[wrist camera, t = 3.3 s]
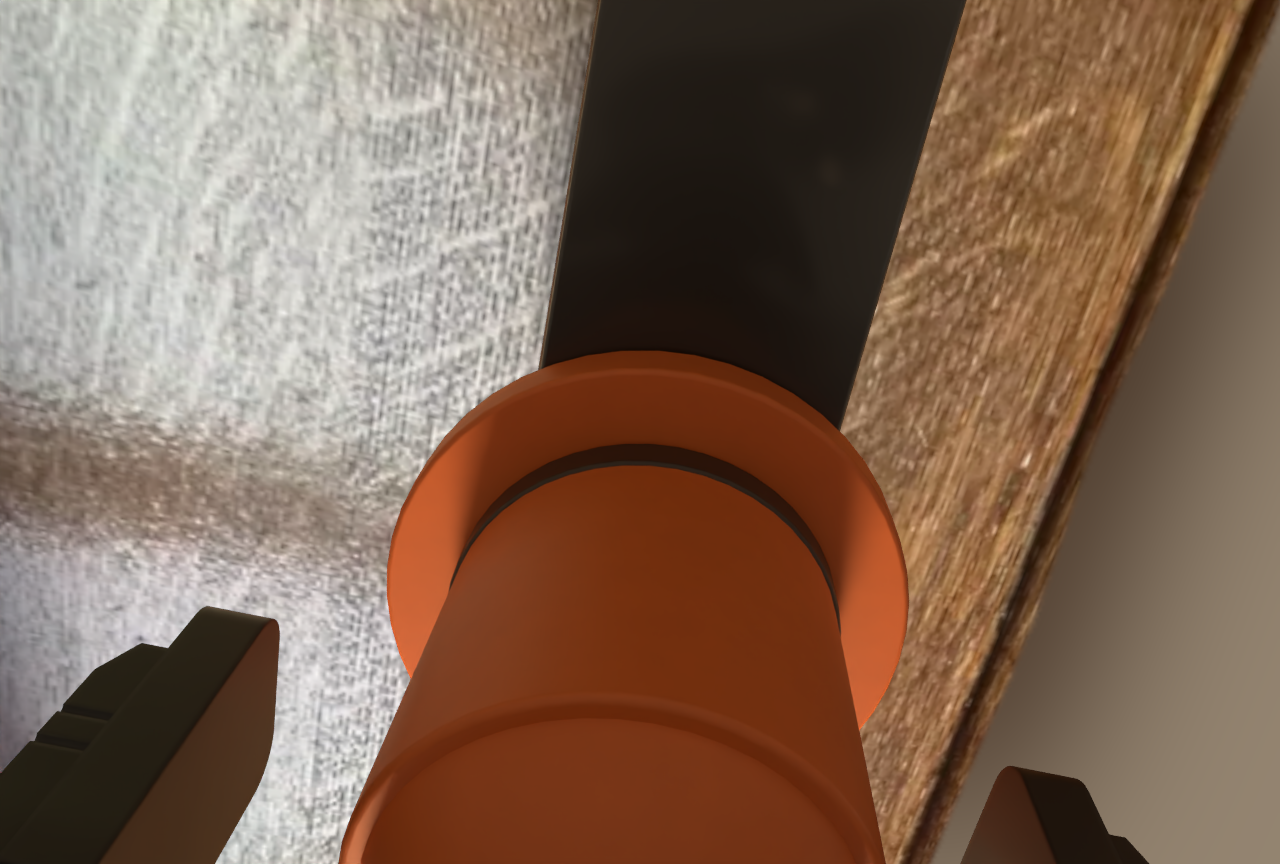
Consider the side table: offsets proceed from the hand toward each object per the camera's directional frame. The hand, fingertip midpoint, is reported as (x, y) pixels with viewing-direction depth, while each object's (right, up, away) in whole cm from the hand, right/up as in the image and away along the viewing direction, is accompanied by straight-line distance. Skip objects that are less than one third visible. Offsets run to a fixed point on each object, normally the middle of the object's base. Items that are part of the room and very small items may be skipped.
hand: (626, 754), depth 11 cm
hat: (0, +1, +3) cm, 4 cm away
